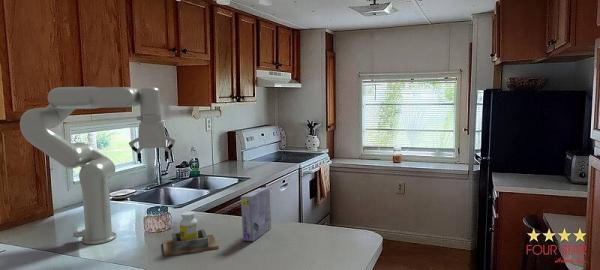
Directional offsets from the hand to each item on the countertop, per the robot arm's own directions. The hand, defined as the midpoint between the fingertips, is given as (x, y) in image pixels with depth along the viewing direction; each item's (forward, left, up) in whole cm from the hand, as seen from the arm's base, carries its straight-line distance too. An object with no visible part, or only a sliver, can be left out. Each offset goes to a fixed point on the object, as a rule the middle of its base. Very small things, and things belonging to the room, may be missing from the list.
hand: (153, 162), depth 170 cm
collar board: (+11, -17, -30) cm, 36 cm away
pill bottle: (+11, -17, -30) cm, 36 cm away
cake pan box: (+38, -14, -31) cm, 51 cm away
